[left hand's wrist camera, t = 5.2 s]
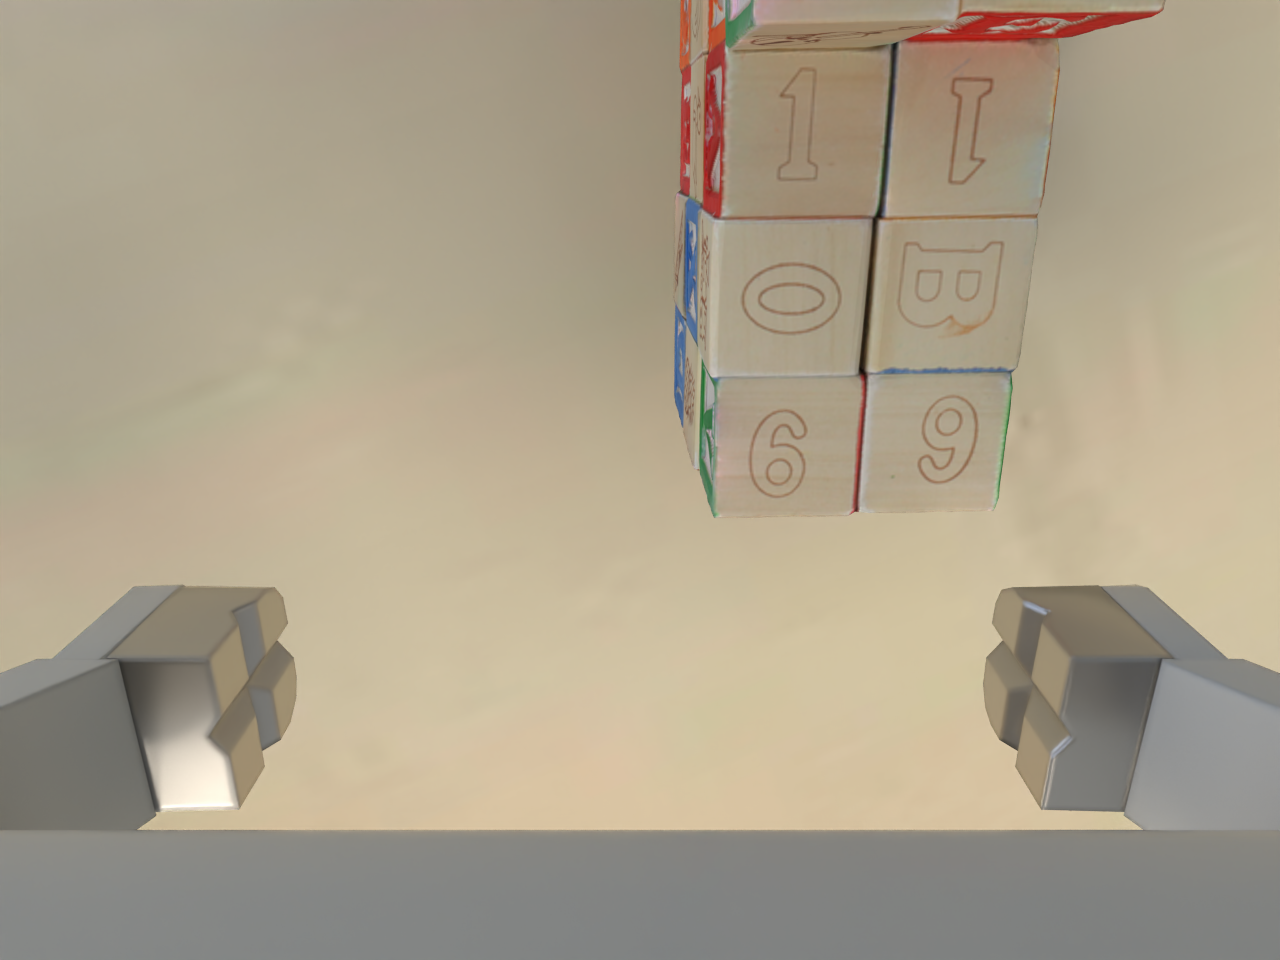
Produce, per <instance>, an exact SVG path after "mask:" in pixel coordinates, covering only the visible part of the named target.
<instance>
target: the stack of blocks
mask: <svg viewBox="0 0 1280 960" xmlns="http://www.w3.org/2000/svg"><path fill="white" fill-rule="evenodd" d="M1164 4H1165V0H681V22H680V70H681V73H682V96H681V156H680V159H681V169H680V186H681V190H680V191H679V192H678V193H677V194H676V197H675V245H674V300H675V304H676V307H675V382H674V396H675V403H676V406H677V409H678V412H679V417H680V419H681V424H682V427H683V433H684V437H685V440H686V444H687V448H688V452H689V455H690V458H691V462H692V465H693V467H694V469H696V470H700V475H701V478H702V482H703V485H704V488H705V491H706V494H707V499H708V503H709V505H710V507H711V511H712V514H713V516H714V518H735V517H781V516H849V515H850V514H852V513H853V512H865V513H906V512H934V511H946V512H954V511H988V510H994V509H995V507H996V504H997V501H998V498H999V488H1000V480H1001V472H1002V465H1003V457H1004V449H1005V441H1006V434H1007V428H1008V422H1009V414H1010V406H1011V394H1012V389H1013V387H1012V376H1011V372H1013V371H1014V370H1015V369H1016V368H1017V366H1018V362H1019V358H1020V353H1021V344H1022V336H1023V329H1024V323H1025V316H1026V310H1027V303H1028V295H1029V287H1030V280H1031V272H1032V264H1033V257H1034V251H1035V245H1036V239H1037V230H1038V221H1037V215H1038V213H1039V210H1040V208H1041V204H1042V200H1043V196H1044V191H1045V180H1046V174H1047V168H1048V160H1049V153H1050V145H1051V137H1052V127H1053V119H1054V111H1055V103H1056V95H1057V87H1058V79H1059V72H1060V65H1059V45H1058V39H1057V38H1064V37H1073V36H1076V35H1080V34H1083V33H1087V32H1091V31H1093V30H1096V29H1101V28H1106V27H1109V26H1113V25H1119V24H1124V23H1127V22H1130V21H1134V20H1139V19H1144V18H1148V17H1152V16H1154V15H1156V14H1158V13H1160V12H1161V11H1162V10H1163V9H1164Z"/></svg>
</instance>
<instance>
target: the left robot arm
mask: <svg viewBox="0 0 1280 960" xmlns="http://www.w3.org/2000/svg"><path fill="white" fill-rule="evenodd" d="M287 624H288V621H287V616H286V611H285V606H284V601H283V597H282V596H281V594H280V593H279V592H278V591H277V590H276V588H275V587H221V586H184V585H161V586H138V587H133V588H132V589H131V590H130V591H128V592H127V593H126V594H125V595H124V596H123V597H122V598H120V599H119V600H118V601H117V602H116V603H115V604H114V605H113V606H111V607H110V608H109V609H108V610H107V611H106V612H105V613H103V614H102V615H101V616H100V617H99V618H98V619H97V620H96V621H94V622H93V623H92V624H91V625H90V626H89V627H88V628H86V629H85V630H84V631H83V632H82V633H81V634H80V635H79V636H77V637H76V638H75V639H74V640H73V641H72V642H71V643H69V644H68V645H67V646H66V647H65V648H64V649H63V650H62V651H60V652H59V653H58V654H57V655H56V656H55V657H54V658H52V659H36V660H33V661H31V662H28V663H26V664H23V665H20V666H18V667H15V668H13V669H10V670H7V671H5V672H2V673H0V960H1280V673H1278V672H1275V671H1272V670H1270V669H1267V668H1265V667H1262V666H1260V665H1257V664H1254V663H1252V662H1249V661H1247V660H1244V659H1228V658H1226V657H1225V656H1224V655H1223V654H1222V653H1221V652H1220V651H1219V650H1217V649H1216V648H1215V647H1214V646H1213V645H1212V644H1211V643H1210V642H1208V641H1207V640H1206V639H1205V638H1204V637H1203V636H1202V635H1201V634H1199V633H1198V632H1197V631H1196V630H1195V629H1194V628H1193V627H1191V626H1190V625H1189V624H1188V623H1187V622H1186V621H1185V620H1184V619H1182V618H1181V617H1180V616H1179V615H1178V614H1177V613H1176V612H1175V611H1173V610H1172V609H1171V608H1170V607H1169V606H1168V605H1167V604H1165V603H1164V602H1163V601H1162V600H1161V599H1160V598H1159V597H1158V596H1156V595H1155V594H1154V593H1153V592H1152V591H1151V590H1150V589H1149V588H1147V587H1143V586H1139V585H1118V586H1099V585H1095V586H1053V587H1012V588H1008V589H1003V590H1001V592H1000V595H999V597H998V599H997V601H996V604H995V609H994V615H993V621H992V624H993V626H994V627H995V629H996V630H997V632H998V633H999V635H1000V637H1001V638H1002V640H1003V641H1002V642H1001V643H1000V644H999V645H998V646H997V647H996V648H995V649H994V650H993V651H992V652H991V653H990V654H989V655H988V657H987V658H986V665H985V673H984V681H983V687H984V698H985V708H986V711H987V714H988V717H989V721H990V724H991V726H992V728H993V729H994V731H995V733H996V735H997V736H998V738H999V740H1001V741H1002V742H1004V743H1006V744H1007V745H1009V746H1011V747H1012V748H1014V749H1016V750H1017V751H1018V754H1017V760H1016V766H1015V767H1016V769H1017V770H1018V772H1019V774H1020V775H1021V777H1022V779H1023V780H1024V782H1025V784H1026V785H1027V787H1028V789H1029V790H1030V792H1031V794H1032V795H1033V797H1034V799H1035V800H1036V802H1037V804H1038V805H1039V807H1040V808H1041V810H1075V811H1112V812H1124V816H1125V817H1127V818H1128V819H1129V820H1131V821H1132V822H1134V823H1135V824H1136V825H1138V826H1139V827H1140V828H1142V829H1143V830H137V829H139V828H140V827H141V826H143V825H144V824H145V823H147V822H148V821H150V820H151V819H152V818H154V817H155V816H156V812H167V811H204V810H239V809H240V807H241V805H242V804H243V802H244V800H245V799H246V797H247V795H248V794H249V792H250V790H251V789H252V787H253V785H254V784H255V782H256V780H257V779H258V777H259V775H260V774H261V772H262V770H263V769H264V767H265V765H264V760H263V754H262V751H263V750H265V749H266V748H268V747H269V746H271V745H273V744H274V743H276V742H278V741H279V740H281V738H282V736H283V735H284V733H285V731H286V729H287V727H288V726H289V724H290V722H291V718H292V713H293V709H294V705H295V701H296V670H295V664H294V658H293V656H292V655H291V654H290V653H289V652H288V651H287V650H286V649H285V648H284V647H283V646H282V645H281V644H280V643H279V642H278V641H277V640H278V638H279V637H280V635H281V633H282V632H283V630H284V629H285V627H286V626H287Z"/></svg>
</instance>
